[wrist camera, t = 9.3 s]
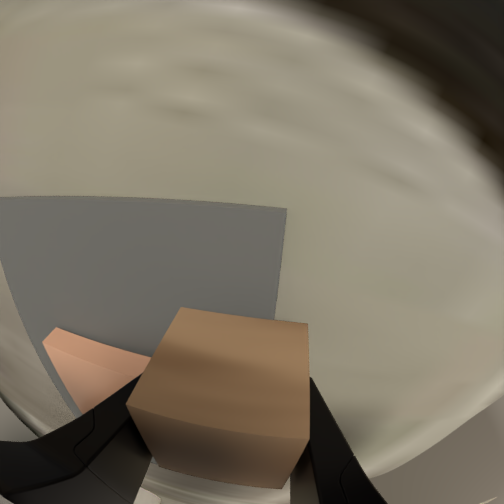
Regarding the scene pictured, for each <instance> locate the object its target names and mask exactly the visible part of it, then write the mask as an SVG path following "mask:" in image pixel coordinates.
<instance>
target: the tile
mask: <svg viewBox="0 0 504 504" xmlns="http://www.w3.org/2000/svg"><path fill="white" fill-rule="evenodd" d="M42 343H43V345H44V347H45V349H46V351H47V353H48V355H49V357H50V359H51V361H52V363H53V365H54V367H55V369H56V371H57V373H58V374H59V376H60V378H61V380H62V382H63V383H64V385H65V387H66V389H67V390H68V392H69V394H70V395H71V397H72V398H73V400H74V402H75V403H76V405H77V406H78V408H79V409H80V411H81V413H82V414H84V413H86V412H87V411H89V410H90V409H92V408H93V409H94V407H95V406H96V405H98V404H99V403H100V402H102V401H103V400H105V399H106V398H108V397H109V396H110V395H112V394H113V393H115V392H116V391H118V390H119V389H120V388H122V387H123V386H125V385H126V384H127V383H129V382H130V381H132V380H133V379H134V378H136V377H137V376H139V375H140V374H141V373H143V372H144V370H145V368H146V366H147V365H148V363H149V361H150V359H151V357H147V356H144V355H140V354H136V353H133V352H129V351H125V350H122V349H119V348H115V347H112V346H109V345H106V344H102V343H99V342H96V341H93V340H90V339H87V338H84V337H81V336H79V335H76V334H73V333H70V332H68V331H65V330H62V329H60V328H57V327H56V328H55V329H54V330H53V331H52V332H51V333H50V334H49V335H48V336H47V337H46V338H45V339H44V341H43V342H42Z"/></svg>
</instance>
